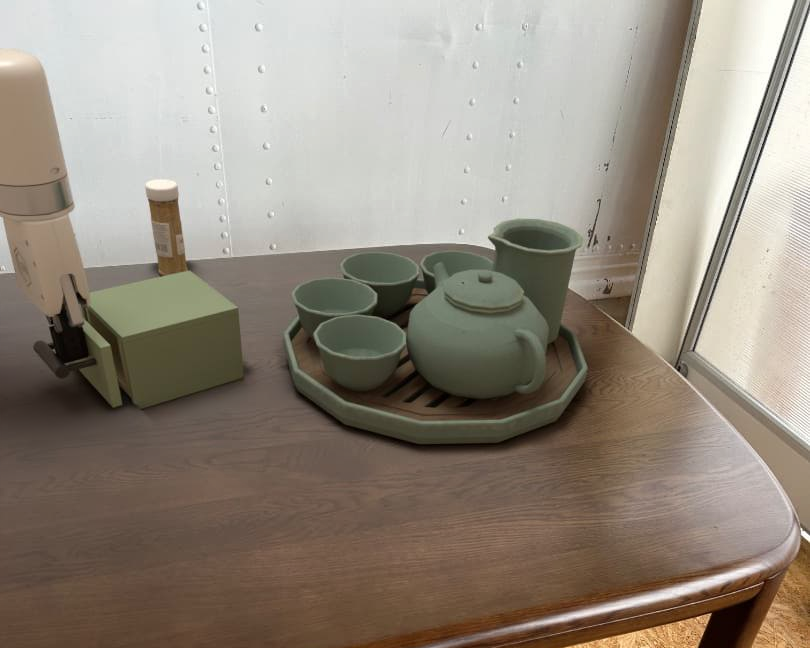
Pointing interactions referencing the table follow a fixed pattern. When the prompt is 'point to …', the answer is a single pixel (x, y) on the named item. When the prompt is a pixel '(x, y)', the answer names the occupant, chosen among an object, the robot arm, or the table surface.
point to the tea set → (443, 339)
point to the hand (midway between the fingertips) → (73, 357)
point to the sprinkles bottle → (166, 226)
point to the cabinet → (171, 335)
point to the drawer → (93, 360)
